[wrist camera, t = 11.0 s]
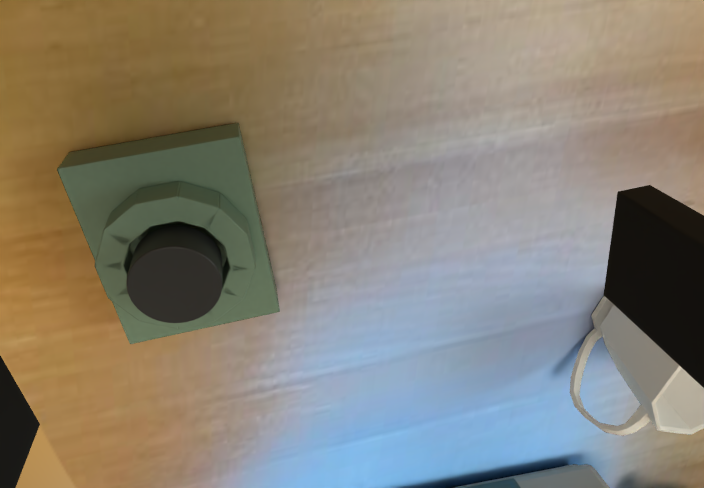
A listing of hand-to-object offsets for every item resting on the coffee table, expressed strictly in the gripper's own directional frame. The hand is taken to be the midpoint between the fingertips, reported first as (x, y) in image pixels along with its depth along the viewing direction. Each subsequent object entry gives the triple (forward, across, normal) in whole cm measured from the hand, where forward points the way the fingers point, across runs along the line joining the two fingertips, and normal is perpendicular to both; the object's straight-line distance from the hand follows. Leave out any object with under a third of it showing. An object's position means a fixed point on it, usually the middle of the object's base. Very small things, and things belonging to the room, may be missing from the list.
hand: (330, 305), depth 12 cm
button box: (+17, -6, -6) cm, 19 cm away
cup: (+18, +20, -19) cm, 33 cm away
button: (+14, -6, -6) cm, 16 cm away
